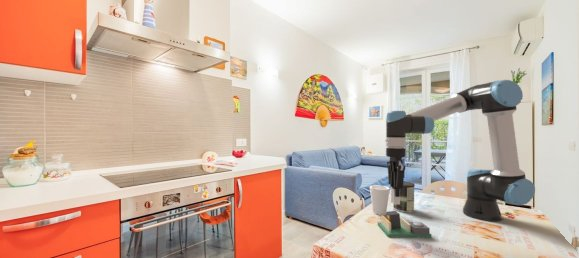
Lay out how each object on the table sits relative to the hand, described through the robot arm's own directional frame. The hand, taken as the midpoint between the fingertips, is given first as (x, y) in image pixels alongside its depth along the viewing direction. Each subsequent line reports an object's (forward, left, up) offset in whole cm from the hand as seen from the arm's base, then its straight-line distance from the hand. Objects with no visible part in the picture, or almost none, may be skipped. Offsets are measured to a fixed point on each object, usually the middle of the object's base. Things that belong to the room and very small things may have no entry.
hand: (395, 203), depth 104 cm
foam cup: (-1, -22, -12) cm, 25 cm away
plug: (0, 0, -10) cm, 10 cm away
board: (-3, 0, -11) cm, 12 cm away
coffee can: (-16, -28, -12) cm, 34 cm away
